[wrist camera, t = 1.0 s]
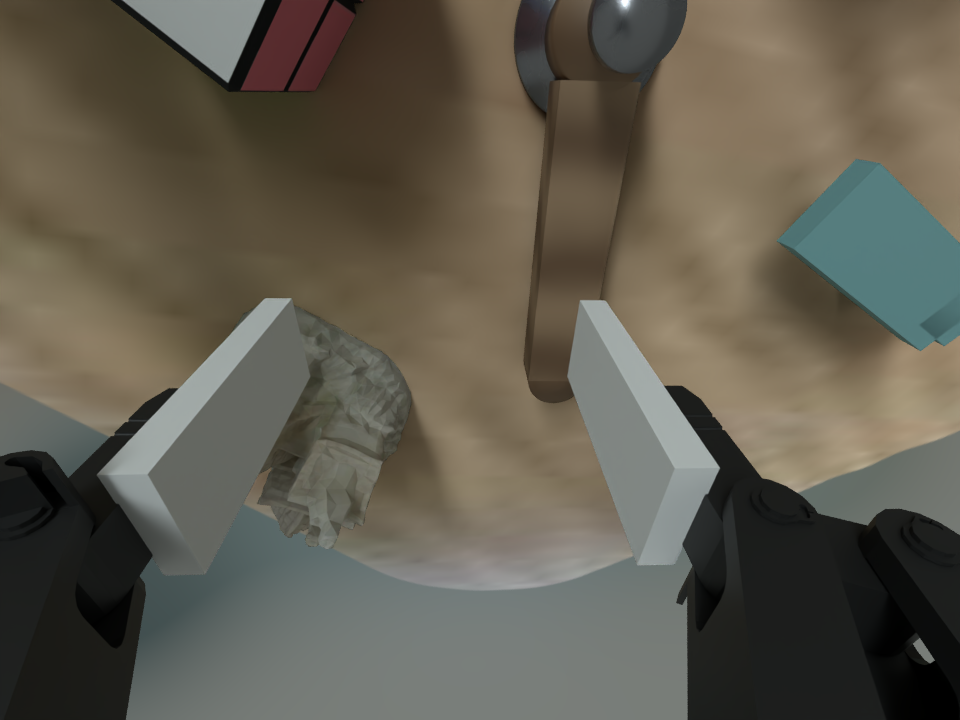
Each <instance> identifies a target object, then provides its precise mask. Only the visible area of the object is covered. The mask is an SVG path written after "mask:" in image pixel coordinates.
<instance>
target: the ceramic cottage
mask: <svg viewBox="0 0 960 720" xmlns="http://www.w3.org/2000/svg"><path fill="white" fill-rule="evenodd" d="M255 308H256V307H255ZM255 308H253V309H252V310H250V312H246V313H244V314H243V316H242V317H241V319H240V320H239V322H238V323H237V324H236V326H235V328H234V329H233V331H234V330H235V329H236V328H237V327H238V326H239V325H240V324H241V323H242V322H243V321H244V320H245V319H246V318H247V316H248V315H249V314H250V313H251V312H252V311H253V310H254V309H255ZM294 309H295V314H296V318H297V322H298V326H299V331H300V335H301V339H302V343H303V348H304V352H305V356H306V360H307V364H308V369H309V373H310V378H309V380H308V382H307V384H306V386H305V388H304V390H303V391H302V393H301V395H300V397H299V399H298V401H297V403H296V405H295V406H294V408H293V410H292V412H291V414H290V416H289V418H288V420H287V422H286V423H285V425H284V427H283V429H282V431H281V433H280V435H279V437H278V438H277V440H276V442H275V444H274V446H273V448H272V450H271V452H270V454H269V455H268V457H267V459H266V461H265V463H264V465H263V467H262V469H261V470H260V472H259V474H260V473H262V472H264V471H266V470H268V469H269V468H270V467H272V468H271V469H272V471H271V472H270V473H269V475H268V478H267V481H266V484H265V486H264V488H263V493H262V495H261V497H260V498H259V500H258V503H257V504H260V505H271V508H272V510H273V512H274V514H275V516H276V518H277V520H278V523H279V525H280V530H281V531H282V532H283V533H284V535H285V536H287V537H288V538H291V537H292V536H293V534H297V533H298V532H299V531H300V530H302V531H304V530H306V529H309V533H308V534H307V536H306V538H305V540H306V544H307V545H308V546H309V547H311V546H312V547H316V546H318V545H320V546H322V547H323V548H325V549H329V548H333V546H334V544H335V542H336V540H337V538H338V535H339V531H340V528H341V526H343V527H346V528H348V529H351V530H353V528H354V526H355V524H358V525H360V526H361V525H363V524H364V521H365V512H366V509H367V506H368V503H369V500H370V496H371V492H372V490H373V488H374V486H375V484H376V481H377V479H378V476H379V473H380V470H381V466H382V464H383V462H384V460H386V459H387V457H388V456H389V455H390V454H393V453H394V452H395V451H396V450H397V444H398V442H399V441H400V439H401V432H402V430H403V429H404V425H405V423H406V421H407V418H408V414H409V410H410V406H411V392H410V390H409V387H408V385H407V383H406V381H405V379H404V377H403V375H402V373H401V372H400V371H399V369H398V367H397V366H396V365H395V363H394V362H393V361H392V360H391V359H390V358H389V357H388V356H387V355H385V354H383V352H382V351H380V350H378V349H376V348H373V347H372V346H370V345H368V344H366V343H364V342H362V341H359V340H357V338H355V337H352V336H350V335H349V334H347V333H345V332H344V331H343V330H341V329H340V328H338V327H336V326H334V325H331V324H329V323H327V322H325V321H324V320H322V319H320V318H319V317H317V316H315V315H313V314H310V313H309V312H307V311H305V310H303V309H301V308H299V307H296V306H294Z"/></svg>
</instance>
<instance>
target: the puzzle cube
mask: <svg viewBox="0 0 960 720" xmlns="http://www.w3.org/2000/svg"><path fill="white" fill-rule="evenodd" d="M111 1H113V2H114V3H115V4H116V5H118V6H119V7H120V8H122V9H123V10H124V11H125V12H127V13H128V14H129V15H131V16H132V17H133V18H134V19H136V20H137V21H138V22H140V23H141V24H142V25H143V26H145V27H146V28H147V29H149V30H150V31H151V32H153V33H154V34H155V35H156V36H158V37H159V38H160V39H162V40H163V41H164V42H165V43H167V44H168V45H169V46H171V47H172V48H173V49H174V50H176V51H177V52H178V53H180V54H181V55H182V56H183V57H185V58H186V59H187V60H189V61H190V62H191V63H192V64H194V65H195V66H196V67H198V68H199V69H200V70H201V71H203V72H204V73H205V74H207V75H208V76H209V77H210V78H212V79H213V80H214V81H216V82H217V83H218V84H219V85H221V86H222V87H223V88H225V89H226V90H227V91H229V92H311V91H315V90H316V89H317V87H318V85H319V83H320V81H321V79H322V77H323V76H324V74H325V72H326V70H327V68H328V66H329V64H330V62H331V61H332V59H333V57H334V55H335V53H336V51H337V49H338V48H339V46H340V44H341V42H342V40H343V38H344V36H345V34H346V33H347V31H348V29H349V27H350V25H351V23H352V21H353V20H354V18H355V16H356V12H355V7H354V3H363V1H364V0H111Z"/></svg>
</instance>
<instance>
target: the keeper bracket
mask: <svg viewBox="0 0 960 720" xmlns="http://www.w3.org/2000/svg"><path fill="white" fill-rule="evenodd" d="M777 242H779V243H780V244H781V245H782V246H784V247H785V248H786V249H787V250H789V251H790V252H791V253H792V254H794V255H795V256H796V257H797V258H799V259H800V260H801V261H802V262H804V263H805V264H806V265H807V266H809V267H810V268H811V269H812V270H814V271H815V272H816V273H817V274H819V275H820V276H821V277H822V278H824V279H825V280H826V281H827V282H829V283H830V284H831V285H832V286H834V287H835V288H836V289H837V290H839V291H840V292H841V293H843V294H844V295H845V296H846V297H848V298H849V299H850V300H851V301H853V302H854V303H855V304H856V305H858V306H859V307H860V308H861V309H863V310H864V311H865V312H866V313H868V314H869V315H870V316H871V317H873V318H874V319H875V320H876V321H878V322H879V323H880V324H881V325H883V326H884V327H885V328H886V329H888V330H889V331H890V332H891V333H893V334H894V335H895V336H896V337H898V338H899V339H900V340H902V341H904V342H905V343H907V344H909V345H911V346H913V347H914V348H916V349H918V350H920V351H921V350H923V349H924V348H925V347H927V346H928V345H929V344H931V343H932V342H933V341H936V342H937V343H939V344H941V345H943V346H945V345H947V344H948V343H949V342H951V341H952V340H953V339H955V338H956V337H958V336H959V335H960V243H959V242H958V241H957V240H956V239H955V238H954V237H953V236H952V235H951V234H950V233H949V232H948V231H947V230H946V229H945V228H944V227H943V226H942V225H941V224H940V223H939V222H938V221H937V220H936V219H935V218H934V217H933V216H932V215H931V214H930V213H929V212H928V211H927V210H926V209H925V208H924V207H923V206H922V205H921V204H920V203H919V202H918V201H917V200H916V199H915V198H914V197H913V196H912V195H911V194H910V193H909V192H908V191H907V190H906V189H905V188H904V187H903V186H902V185H901V184H900V183H899V182H898V181H897V180H896V179H895V178H894V177H893V176H892V175H891V174H890V173H889V172H888V171H887V170H886V169H885V168H884V167H883V166H882V165H881V164H880V163H875V162H870V161H864V160H858V159H856V160H855V161H854V162H853V163H852V164H851V165H850V166H849V167H848V168H847V169H846V170H845V171H844V172H843V173H842V174H841V175H840V176H839V177H838V178H837V179H836V180H835V181H834V182H833V183H832V184H831V186H830V187H829V188H828V189H827V190H826V191H825V192H824V193H823V194H822V195H821V196H820V197H819V198H818V199H817V200H816V201H815V202H814V203H813V204H812V205H811V206H810V207H809V208H808V209H807V210H806V211H805V212H804V213H803V214H802V215H801V216H800V217H799V218H798V219H797V220H796V221H795V222H794V223H793V225H792V226H791V227H790V228H789V229H788V230H787V231H786V232H785V233H784V234H783V235H782V236H781V237H780V238H779V239H778V240H777Z"/></svg>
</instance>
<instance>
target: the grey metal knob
mask: <svg viewBox="0 0 960 720" xmlns="http://www.w3.org/2000/svg"><path fill="white" fill-rule="evenodd" d="M555 1H556V0H521V3H520V6H519V10H518V13H517V18H516V23H515V31H514V53H515V61H516V66H517V70H518V73H519V76H520V79H521V82H522V84H523V86H524V88H525V90H526V92H527V93H528V95H529V96H530V98H531V99H532V100H533V101H534V102H535V104H536V105H537V106H538V107H539V108H541V109H542V110H543V111H544V112H546V113H547V106H548V95H549V84H550V81H556V80H557V79H556V77H555V76H554V75H553V73H552V71H551V69H550V67H549V65H548V62H547V58H546V53H545V44H544V39H545V29H546V24H547V20H548V17H549V14H550V11H551V9H552V7H553V5H554V3H555ZM686 11H687V0H592V2H591V6H590V9H589V14H588V23H587V33H588V40H589V44H590V47H591V50H592V52H593V54H594V56H595V58H596V59H597V60H598V62H599V63H600V64H601V65H602V66H603V67H605V68H606V69H607V70H609V71H612V72H614V73H618V74H631V73H638V72H641V73H640V75H639V76H638V77H637V78H635V79H634V80H633V81H632V82H641V86H640V91H641V90H642V88H643V87H644V86H645V84H646V83H647V81H648V80H649V78H650V76H651V75H652V73H653V71H654V69H655V67H656V64H657V63H659V62H660V61H661V60H662V59H663V58H664V57H665V56H666V55H667V54H668V53H669V51H670V50H671V49H672V48H673V46H674V44H675V43H676V41H677V39H678V37H679V35H680V33H681V30H682V28H683V25H684V21H685V17H686ZM640 91H639V92H640Z"/></svg>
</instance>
